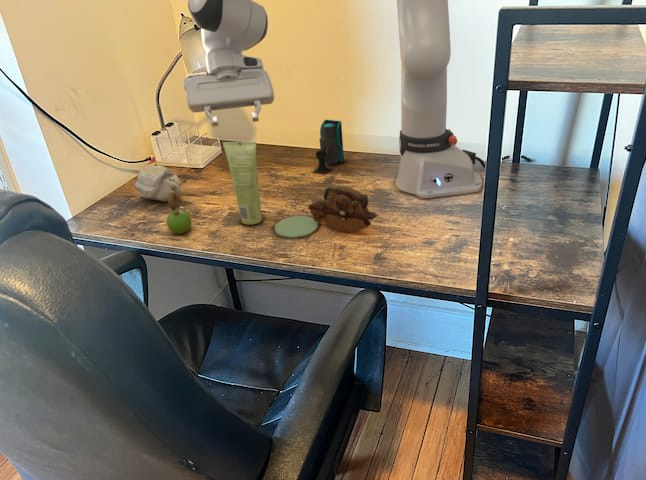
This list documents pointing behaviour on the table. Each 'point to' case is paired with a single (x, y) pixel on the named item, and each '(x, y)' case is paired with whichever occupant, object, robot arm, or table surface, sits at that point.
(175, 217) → the green bulbous piece
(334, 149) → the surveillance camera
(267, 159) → the table surface
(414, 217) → the table surface
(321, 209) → the wooden carving
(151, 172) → the fossil replica
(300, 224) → the coaster
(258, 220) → the tube
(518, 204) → the table surface
